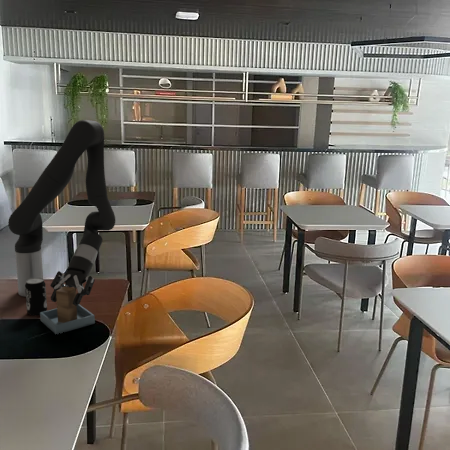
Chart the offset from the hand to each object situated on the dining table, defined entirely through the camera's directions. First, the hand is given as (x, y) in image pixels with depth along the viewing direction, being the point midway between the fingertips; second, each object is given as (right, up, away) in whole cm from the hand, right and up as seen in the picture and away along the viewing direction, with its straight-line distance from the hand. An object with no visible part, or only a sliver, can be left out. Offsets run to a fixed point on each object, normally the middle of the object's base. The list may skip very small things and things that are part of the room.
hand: (63, 303), depth 153 cm
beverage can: (-13, -5, +10) cm, 17 cm away
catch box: (0, -7, +3) cm, 8 cm away
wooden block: (0, -6, +3) cm, 7 cm away
